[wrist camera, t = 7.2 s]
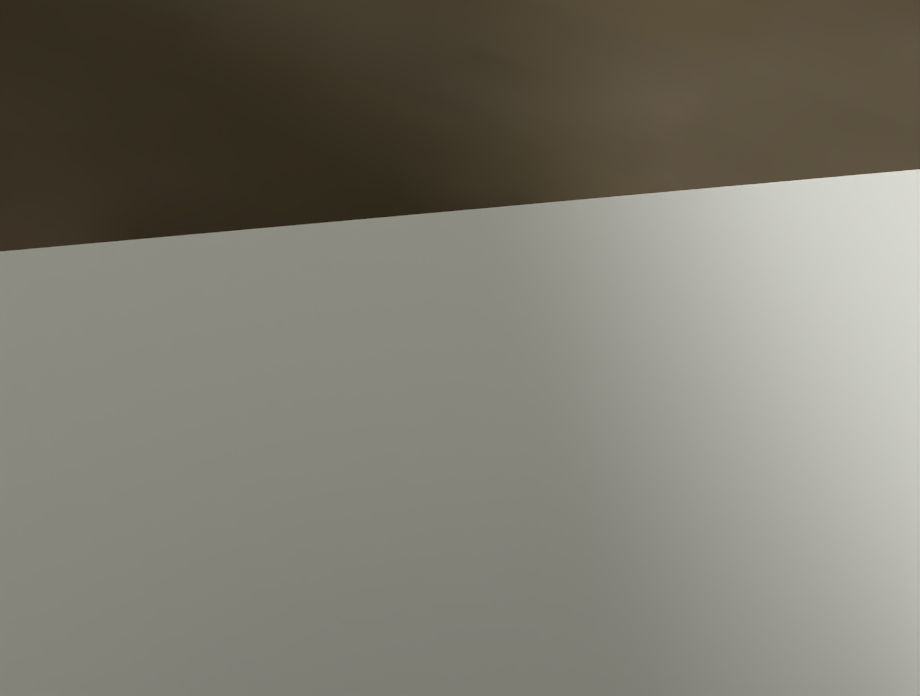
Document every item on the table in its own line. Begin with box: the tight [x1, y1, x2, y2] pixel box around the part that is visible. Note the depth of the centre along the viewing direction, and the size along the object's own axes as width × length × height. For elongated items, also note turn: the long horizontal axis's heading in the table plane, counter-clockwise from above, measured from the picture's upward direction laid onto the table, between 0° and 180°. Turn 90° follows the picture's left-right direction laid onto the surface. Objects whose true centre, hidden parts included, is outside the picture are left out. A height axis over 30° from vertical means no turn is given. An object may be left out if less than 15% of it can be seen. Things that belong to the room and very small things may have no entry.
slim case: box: [0, 169, 920, 696], centre depth 9 cm, size 6×4×12 cm
